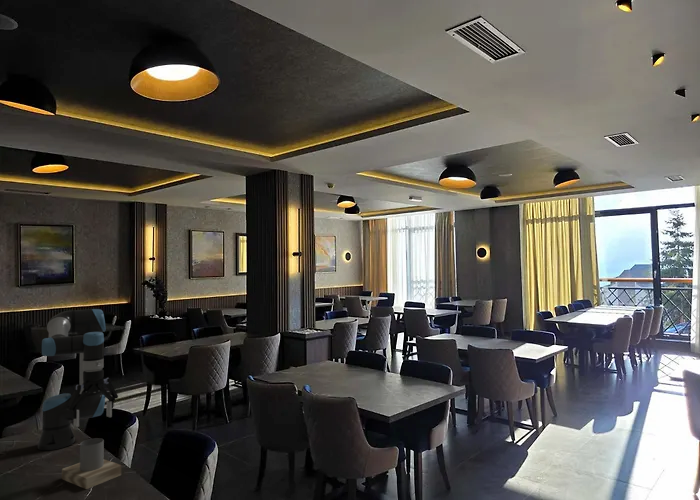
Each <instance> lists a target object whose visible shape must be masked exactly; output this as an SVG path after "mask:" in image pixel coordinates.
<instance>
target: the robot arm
mask: <svg viewBox="0 0 700 500" xmlns="http://www.w3.org/2000/svg"><path fill="white" fill-rule="evenodd" d="M46 330H47V332H48V337H45V338H43V339H42V340H41V355H42V356H43V357H54V356H63V355H75V354H79V384H75V385H74V391H73V393H72V395H71V393H68V392H67V393H61V394H56V395H53V396H50V397H48V398H46V399H45V400H44V401H42V402H43V403H42V409H41V412H42V423H41V424H42V427H41V428H42V431H41V434H40V436H39V439H38V441H37V449H38V450H40V451H55V450H59V449H63V448H66V447H69V446H71V445H73V444H74V443H75V442H76V441H75V439H76V438H75V433H74V432H73V429H72V425H71V422H72V421H73V427H76V428H79V427H80V420H85V419H90V418H96V417H100V416H102V415H103V414H104V411H105V404H106V415H105V416H106V418H107V417H108V418H112V417H113V409H114V402H116V399H118V398H119V395H118V393H117V391H116V389H115V387H114V386H113V384H112V379H111V378H109V377H105V378H104V376H105V375H104V373H105V371H104V369H103V368H104V367H105V366H104V365H105V363H104V360H105V359H104V357H105V356H104V352H105V351H104V350H105V347H104V345H105V344H104V342H105V337H104V336H105V335H104V333H105V332H106V330H107V328H106V320H105V314H104V311H103V310H102V309H100V308H88V309H75V310H74V309H73V310H72V309H71V310H65V311H61V312H60V313H58V314H56V315H53V316H52V317H51V318H50V319H49V320H48V322H47V325H46ZM103 332H104V333H103ZM72 334H73V335H72ZM74 334H75V335H74ZM69 335H70V336H69ZM104 384H105V386H106V387H107V389H108V391H107V389H106V388H105V387H103V385H104ZM106 399H107V400H106Z"/></svg>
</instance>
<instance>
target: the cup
mask: <svg viewBox="0 0 700 500" xmlns="http://www.w3.org/2000/svg"><path fill="white" fill-rule="evenodd" d="M104 443H105V440H104V439H103V438H100V437H99V438H98V437H95V438H89V439H85V440H83V441H81V442H80V443H79V463H80V470H81V471H93V470H96V469H99V468H101V467H102V466H103V465H104V458H105V457H104V454H105V453H104V449H105V448H104V447H105V446H104V445H105V444H104Z"/></svg>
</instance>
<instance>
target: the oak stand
mask: <svg viewBox="0 0 700 500" xmlns="http://www.w3.org/2000/svg"><path fill="white" fill-rule="evenodd" d="M120 476H122V464H119V463H117V462H114V461H110V460H108V459H104V465H103V466H102V467H101V468H99V469H96V470H93V471H81V470H80V462H78V463H75V464H73V465H70V466H66V467H63V468H61V480H63V481H65V482H67V483H70V484H73V485H75V486H78V487H80V488H83V489H85V490H89V489H90V488H92V487H95V486H98V485H100V484H103V483H106V482H108V481H109V480H110V481H111V480H113V479H115V478H117V477H120Z"/></svg>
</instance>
